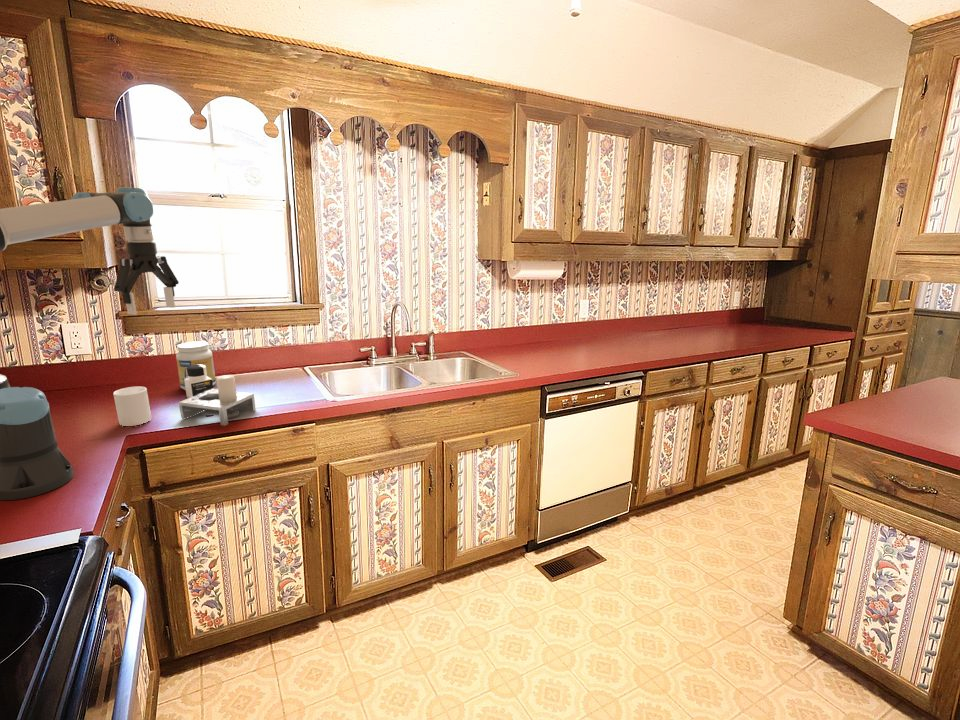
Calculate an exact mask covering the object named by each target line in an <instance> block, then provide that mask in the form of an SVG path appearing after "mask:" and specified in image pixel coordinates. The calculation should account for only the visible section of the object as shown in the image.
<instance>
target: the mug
mask: <svg viewBox="0 0 960 720" xmlns="http://www.w3.org/2000/svg"><path fill="white" fill-rule="evenodd" d="M112 394H113V398H114V403H115V404H114V405H115V409H116V414H117V419H118V423H119V425H120V426H121V425H122V426H121V427H123V426H133V425H139V424H143V423H146V422H148V421H150V422H151V420H152V412H151V408H150V407H151V406H150V400H149V394H148V389H147V387H145V386H127V387H124V388H120V389H117V390H115V391H113V393H112ZM148 423H149V422H148ZM146 424H147V423H146Z"/></svg>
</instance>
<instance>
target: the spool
mask: <svg viewBox="0 0 960 720" xmlns="http://www.w3.org/2000/svg"><path fill="white" fill-rule="evenodd" d="M215 378H216V387H217V389H218V394H219V401H221V402H230V401H234V400H236V399H237V393H236V392H237V385H236V379H235V375H233V374H224V375H223V374H222V375H219V376H216V377H215ZM226 410H227V418H228V419H233V418H236V417H239V415H240V413H239V409H233V406H232V407H230V408H228V409H226Z"/></svg>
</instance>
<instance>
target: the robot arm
mask: <svg viewBox="0 0 960 720" xmlns="http://www.w3.org/2000/svg"><path fill="white" fill-rule="evenodd" d="M154 213H155V207H154V204H153V201H152V200H151V199H150V198H149V195H148V192H147V190H146V189H144V188H141V187H122V186H121V187H117V188H116V192H89V191H85V192H82V191H81V192H78V191H77V192H75V193H74V194H72V196H71V199H66V200H59V201H58V200H57V201H51V202H42V203H36V204H28V205H21V206H20V205H19V206H13V207H11V206H10V207H4V208H0V252H1V251H5V250H6V249H7V246H8V245H12V244H13V245H14V244H18V243H23V242H28V241H34V240H35V241H36V240H40V239H46V238H50V237H55V236H56V237H57V236H61V235H66V234H72V233H78V232H82V231H88V230H93V229H98V228H99V229H100V228H103V227H109V226H115V225H121V224H122V228H123V234H124V240H125V241H127V242H126V244H125V245H126V250H127V254H128V255H129V258H120V259H119V270H118V274H117V277H116V281H115V284H114V292H118V293H121V294H122V295H121V296H122V300H123V303H124V305H125V304H126V305H125V306H126V311H127V315H133V316H136V315H138V312H137V306H136V300H135V295H134V292H132V289H133V287H134V286H135V285H136V282H137V281H138V278H139V277H140V275H142V274H145V273H152V274H153V275H154V276H155V277H156V278H157V279H158V280H159V281H160V282H161V283H162V284H163V285H164V286H163V293H164V299H165V305H166V308H173V309H174V308H176V304H175V298H174V297H175V289H174V288H176V286H177V285H179V280H178V279H177V277H176V275H175V274H174V272H173V270H172V269H171V267H170V265H169V264H168V260H167V257H166V256H165V255H164V256H163V255H162V256H160V255H158V256H157V254H158V249H157V244H156V242H154V241H155V239H156V238H155V231H154V225H153V219H152V217H153V215H154ZM58 445H59V444H58V441H57V437H56V431H55V428H54V424H53V419H52V414H51V410H50V403H49V402H48V400H47V397H46V395H45V393H44V392H43V391H41V390H40V389H37V388H34V387H29V386H23V387H19V386H11V385H10V383H9V380H8V378H7V376H6V375H4V374H1V373H0V501H13V500H23V499H27V498H32V497H37V496H40V495H43V494H46V493H48V492H51V491H53V490H56V489H58V488H60V487H62V486H64V485H66V484H67V483H68V482H70V481H71V480H72V479H73V477H74V476H75V473H74V469H73V466H72V464H71V462H70V461H69V460H68V458H67V457H66V456H65V455H64V454H63V452H62V451H61V449H60V448H59V446H58Z"/></svg>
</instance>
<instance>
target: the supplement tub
mask: <svg viewBox="0 0 960 720" xmlns="http://www.w3.org/2000/svg"><path fill="white" fill-rule="evenodd" d="M209 345H210V344H209V342H207V341H188V342H183V343H180V344H177V349H176V350H177V353H176V355H175V358H176V359H175V360H176V364H177V373H178V379H179V384H180V385H179V386H180V389H183V391H186V388H185V382H184V379H185V378H188V374H187V367H189V366H191V365H196V364H202V365H205V366H206V371H207V376H208V377H209V378H211V379H212V383H213V387H214V386H216V384H217V379H216V378H217V377H216V373H215V365H214V364H215V363H214V358H213V352H212V350H211V349H210V346H209Z"/></svg>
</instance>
